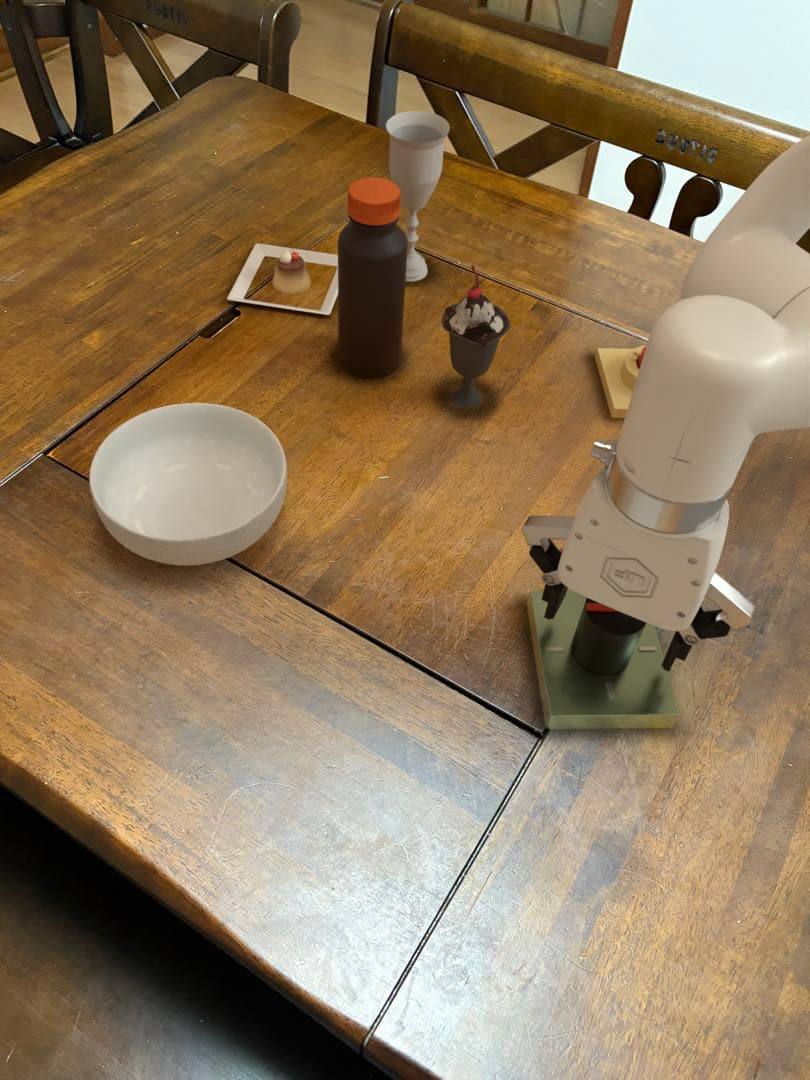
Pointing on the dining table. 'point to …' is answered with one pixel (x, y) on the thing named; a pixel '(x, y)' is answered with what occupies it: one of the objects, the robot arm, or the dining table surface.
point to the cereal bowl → (189, 483)
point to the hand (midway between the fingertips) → (611, 630)
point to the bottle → (371, 280)
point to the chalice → (416, 170)
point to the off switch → (618, 376)
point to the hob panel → (596, 676)
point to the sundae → (473, 340)
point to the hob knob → (605, 638)
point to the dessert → (286, 275)
